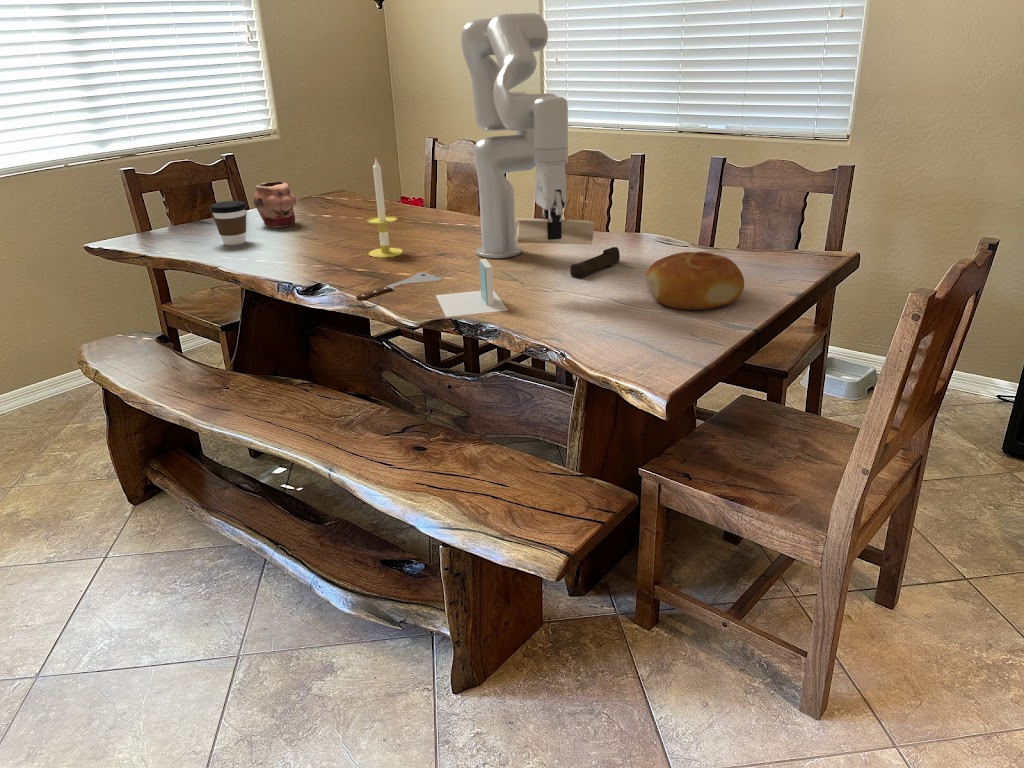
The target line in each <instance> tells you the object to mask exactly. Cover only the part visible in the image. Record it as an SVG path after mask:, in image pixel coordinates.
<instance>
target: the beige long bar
mask: <svg viewBox="0 0 1024 768" xmlns="http://www.w3.org/2000/svg"><path fill="white" fill-rule="evenodd" d="M547 222H549V219H543V218H529V217H528V218H527V217H526V218H525V217H516V218H515V242H516V243H517V244H519V243H521V244H524V243H525V244H551V245H552V244H558V245H559V244H562V245H591V246H592V244H593V238H594V237H593V236H594V230H595V222H593V221H591V220H586V219H585V220H579V219H562V221H561V230H562V237H561V239H553V240H549V239H548V230H547Z"/></svg>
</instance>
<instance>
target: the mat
mask: <svg viewBox="0 0 1024 768" xmlns="http://www.w3.org/2000/svg"><path fill="white" fill-rule="evenodd" d="M435 297H436V299H437V302H438V303H439V305H440V307H441V310H442V311H443V313H444V316H445V318H451V317H452V318H453V317H459V316H460V317H461V316H462V317H463V316H470V315H477V314H478V315H479V314H487V313H496V312H507V311H509V309H508V308H507V307H506V305H505V304H504V302H503V301H502V299H501V298H500V297H499V296H498V295H497V292H496V291H495V290H494V289H493V299H494V305H490V306H488V305H487V304H486V303H485V301H484V300H483V298H482V297H481V290H473V291H465V292H454V293H447V294H446V293H444V294H443V293H442V294H436V295H435Z"/></svg>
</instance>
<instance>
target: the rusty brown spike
mask: <svg viewBox="0 0 1024 768" xmlns="http://www.w3.org/2000/svg"><path fill="white" fill-rule="evenodd" d="M620 258H621V256H620V249H619V247H617V246H613V247H609V248H606V249H604V250H603V251H602V253H601V254H599V255H597V256H593V257H591V258H589V259H586V260H583V261H580V262H578V263H572V264H571V265H570V267H569V269H570V271H569V272H570V273H569V274H570V276H571V277H572V278H575V279H580V280H581V279H582V278H585V277H586V275H588V274H590V273H593V272H596V271H598V270H601V269H603V268H605V267H606V268H612V267H614V266H615V265H617V264H618V263H619V262H620V261H621V259H620Z"/></svg>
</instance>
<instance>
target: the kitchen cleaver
mask: <svg viewBox="0 0 1024 768" xmlns="http://www.w3.org/2000/svg"><path fill="white" fill-rule="evenodd" d="M441 279H442V280H443V277H439V276H435V275H433V274H430V273H427V272H424V271H423V272H422V271H421V272H417V273H415V274H413V275H411V276H410V277H407V278H406V279H403V280H401V281H398V282H394V283H391V284H388V285H386V286H382V287H379V288H376V289H373V290H370V291H366V292H363V293H361V294H357V295H356V300H357V301H365V300H368V299H370V298H372V296H374V297H376V296H375V295H377V296H380V295H382V294H385V293H384V292H386V293H389V291H390V292H394V291H395V292H396V290H395V287H397V286H401V285H402V284H403V285H405V284H413V283H426V282H434V281H435V282H436V281H441ZM381 293H382V294H381ZM379 294H380V295H379ZM369 297H370V298H369Z"/></svg>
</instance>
